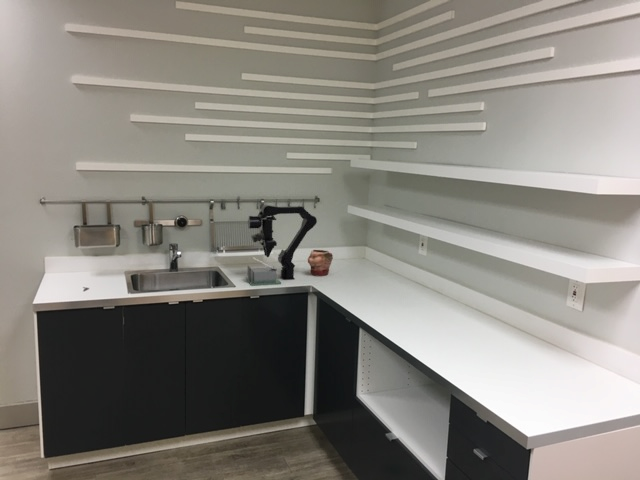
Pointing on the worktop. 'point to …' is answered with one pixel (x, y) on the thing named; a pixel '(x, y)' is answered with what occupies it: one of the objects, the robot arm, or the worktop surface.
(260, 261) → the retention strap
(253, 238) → the robot arm
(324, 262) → the decorative planter
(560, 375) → the worktop surface
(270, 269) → the green grey square block
